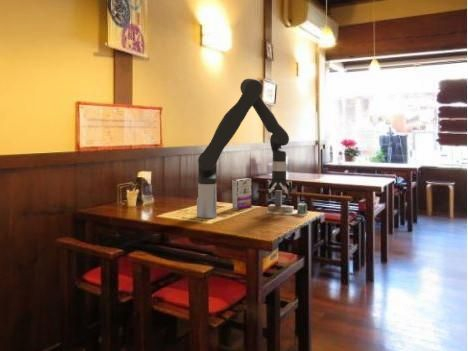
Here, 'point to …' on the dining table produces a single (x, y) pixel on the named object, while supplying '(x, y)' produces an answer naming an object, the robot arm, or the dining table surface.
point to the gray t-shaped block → (279, 201)
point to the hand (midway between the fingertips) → (278, 199)
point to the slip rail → (281, 211)
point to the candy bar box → (242, 193)
